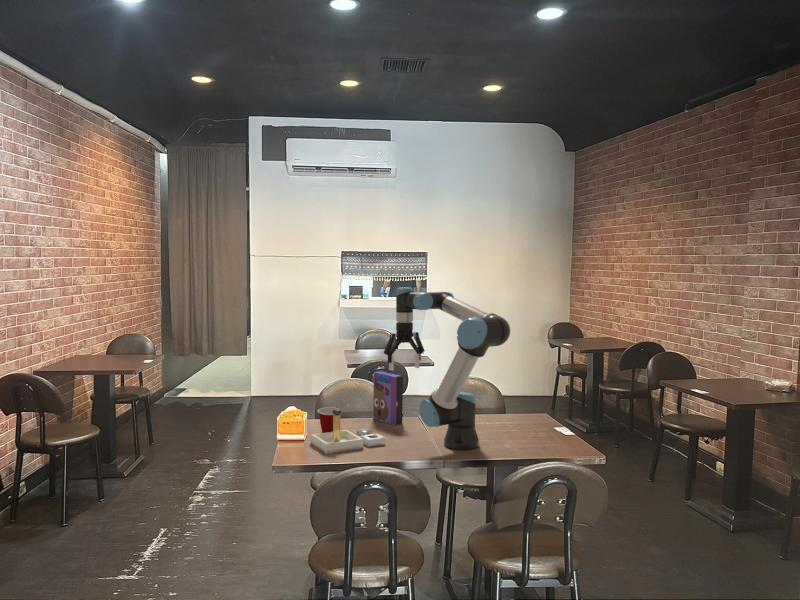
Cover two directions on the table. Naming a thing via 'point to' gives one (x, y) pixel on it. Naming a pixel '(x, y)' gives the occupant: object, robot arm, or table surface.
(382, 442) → the bracket
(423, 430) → the table surface
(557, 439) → the table surface
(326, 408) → the plastic cup
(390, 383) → the cereal box
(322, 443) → the tray
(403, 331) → the robot arm
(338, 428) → the lock pin
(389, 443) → the table surface
